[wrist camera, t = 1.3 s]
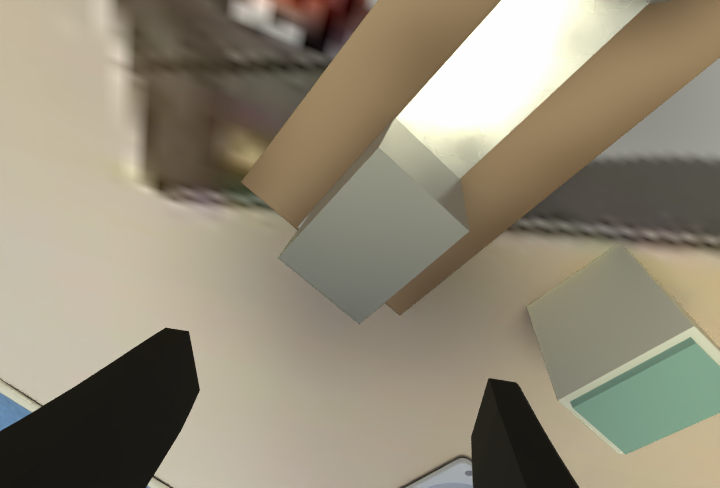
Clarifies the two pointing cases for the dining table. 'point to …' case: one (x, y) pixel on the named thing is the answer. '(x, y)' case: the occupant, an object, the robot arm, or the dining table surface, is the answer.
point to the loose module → (626, 353)
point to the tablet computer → (9, 406)
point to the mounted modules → (380, 223)
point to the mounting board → (515, 151)
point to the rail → (507, 73)
